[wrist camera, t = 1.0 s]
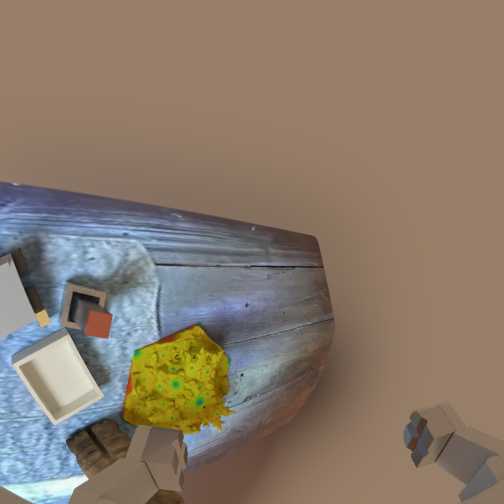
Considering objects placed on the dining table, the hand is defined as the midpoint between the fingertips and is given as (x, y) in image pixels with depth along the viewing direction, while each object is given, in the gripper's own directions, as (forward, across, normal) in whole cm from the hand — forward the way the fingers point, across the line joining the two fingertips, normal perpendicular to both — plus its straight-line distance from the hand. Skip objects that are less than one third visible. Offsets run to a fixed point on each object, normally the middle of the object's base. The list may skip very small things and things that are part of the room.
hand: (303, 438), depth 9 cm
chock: (+29, +35, +11) cm, 47 cm away
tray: (+28, +35, +22) cm, 50 cm away
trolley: (+25, +40, +6) cm, 47 cm away
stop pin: (+34, +30, +12) cm, 47 cm away
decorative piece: (+44, +18, +36) cm, 60 cm away
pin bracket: (+34, +30, +12) cm, 47 cm away
